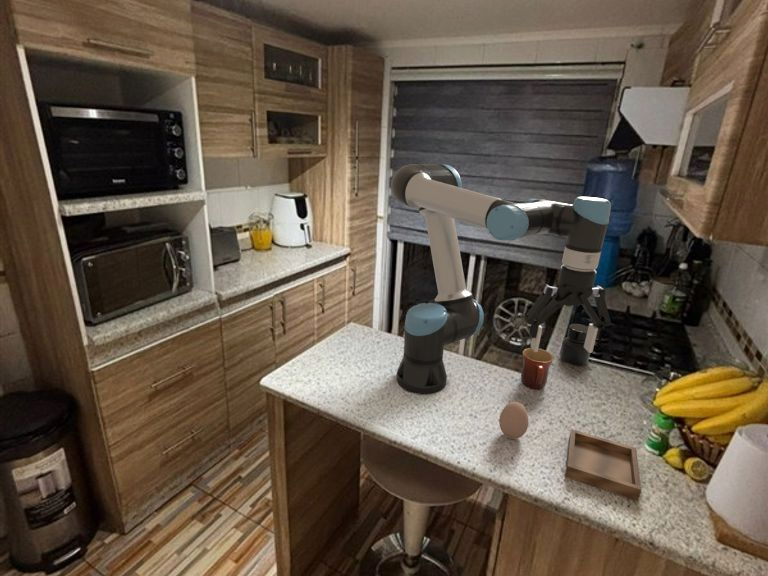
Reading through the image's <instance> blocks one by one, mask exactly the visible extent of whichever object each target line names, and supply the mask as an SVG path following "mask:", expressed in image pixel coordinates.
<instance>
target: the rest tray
mask: <svg viewBox="0 0 768 576" xmlns="http://www.w3.org/2000/svg"><path fill="white" fill-rule="evenodd" d="M637 452H638V451H637V447H634V446H632V445H627V444H623V443H620V442H618V441H613V440H609V439H606V438H603V437H599V436H597V435H592V434H589V433H587V432H582V431H579V430H577V429H573V428H571V429H570V433H569V438H568V444H567V454H566V455H567V456H566V465H565V474H564V477H565V478H567V479H570V480H573V481H576V482H578V483H582V484H584V485H587V486H591V487H594V488H596V489H600V490H602V491H603V490H604V491H606V492H609V493H612V494H614V495H617V496H621V497H623V498H627V499H629V500H633V501H637V502H639V499H640V497H641V493H642V484H641V477H640V467H639V460H638V453H637Z"/></svg>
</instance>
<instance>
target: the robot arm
mask: <svg viewBox="0 0 768 576" xmlns="http://www.w3.org/2000/svg"><path fill="white" fill-rule="evenodd" d="M462 186H463V185H462V179H461V177H460V174H459V172H458V171H457V169H455V168H454V167H452V166H451V165H449V164H444V163H424V164H423V163H417V164H416V163H410V164H406V165H405V164H404V165H403V166H401V167H400V168H398V169H397V170H396V171H395V173H394V174H393V177H392V178H391V183H390V189H391V193H392V196H393V197H394V199H395V200H396V201H397V202H398V203H399V204H402V205H404V206H405V207H410V208H412V209H415V210H416V209H418V213H419V214H420V215H422V216H423V217H424V219H425V225H426V228H427V229H426V230H427V235H428V242H429V247H430V251H431V252H430V253H431V260H432V264H433V269H434V270H433V271H434V275H435V282H436V287H437V295H436V297H435V298H434V302H428V303H426V302H422V303H418V304H416V305H413V306H411V307H410V308H409V309H408V310H407V312H406V315H405V322H404V341H403V356H402V359H401V361H400V363H399V365H398V368H397V370H396V377H395V378H396V383H397V384H398V386H399V387H400V388H402V389H403V390H405V391H407V392H409V393H411V394H412V393H413V394H418V395H431V394H432V395H433V394H437V393H440V392H441V391H442V390H444V389H445V388H446V386H447V381H448V380H447V379H448V377H447V371H446V368H445V367H446V366H445V364H444V363H445V362H444V360H443V358H444V348H445V346H448V345H451V344H453V343H457V342H458V341H461V340H465V339H466V340H467V339H468V338H471V337H472V336H474V335H476V334H477V333H479V331H480V330H481V328H482V327H483V324H484V319H485V317H484V316H485V315H484V310H483V308H482V305H481V304H479V302H478V301H477V300H476V299H474V296H473V292H471V291H469V290H468V289H467V287H466V286H467V285H466V279H465V275H464V274H465V273H464V269H463V263H462V257H461V252H460V251H461V250H460V245H459V239H458V232H457V227H456V221H455V220H457V221H461V222H463V223H466V224H470V225H472V226H474V227H477V228H480V229H484V230H486V231H487V232H488V233H489V234H490V235H491V236H492V238H494V239H495V240H498V241H515V240H517V239H522V238H528V237H534V236H537V235H544V234H548V235H553V236H556V237H557V236H558V237H561V238H566V240H565V245H564V249H563V254H562V260H561V263H562V265H561V266H560V270H559V275H558V281H557V282H558V283H557V285H556V286H550V285H549V284H547V283H546V284H544V285H543V287H542V290H541V293H540V295H539V296H538V297H537V299H536V300H535V301H534V303H533V304H532V305H531V307H530V308H529V310H528V312H527V313H526V314H524V315H525V316H523V317H524V320H525V322H526V323H527V324H528V325H530V328H529V336H530V337H531V342H530V348H532V349H533V350H534V351H535V352H538V349H540V348H539V347H540V344H541V343H540V342H541V337H542V332H543V326H542V324H543V323H544V322H545V321H547V319H549V318H550V317H551V316H552V315H553V314H555V312H556V311H558V310H559V309H562V308H563V307H564V306H566V307H572V306H574V307H580V306H582V308H583V310H584V311H585V312H586V314H587V316H588V317H589V319H590V321H591V322H592V323H589V324H588V331H587V335H586V340H585V344H584V348H585V349H586V350H587V351H588V352H589V353H590V354H591V353H593V351H594V346H595V342H596V340H598V339H599V338H600V335H601V330H604V329H605V328H606V327H607V326H608V327H609V326H611V325H612V322H611V321H612V320H611V318H610V314H609V310H608V306H607V303H606V299H605V295H606V290H605V288H603V287H601V286H600V285H596V286H594V285H595V280H596V276H597V270H596V269H598V266H599V262H600V259H601V255H602V249H603V247H604V246H603V245H604V240H605V237H606V233H607V229H608V227H609V226H608V225H609V223H610V214H611V208H612V203H611V202H610V200H608V199H606V198H601V197H591V196H576V197H575V199H574V201H573V203H564V202H559V201H554V200H546V199H544V198H529V199H527V200H526V202H521V203H518V202H513V201H509V200H505V199H503V198H499V197H495V196H491V195H487V194H484V193H481V192H476V191H473V190H471V189H470V190H469V189H466V188H463V187H462ZM555 294H556V295H555ZM591 296H593V298H594V301H595V306H596V308H597V311H598V314H597V312H596V311H595V310H594V308H593V306H592V303H590V301H589V298H590V297H591ZM550 299H551V301H550Z"/></svg>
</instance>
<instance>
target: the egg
mask: <svg viewBox="0 0 768 576" xmlns="http://www.w3.org/2000/svg"><path fill="white" fill-rule="evenodd" d="M498 421H499V422H498V423H499V428H500V430H501V432H502V433H503V435H504V436H505V437H506V438H508V439H510V440H517V439H519V438H521V437H523V436H524V435H525V434H526V433H527V430H528V427H529V423H530V422H529V415H528V412H527V410H526V407H525V406H524V405H523V404H522V403H521V402H517V401H512V402H509V403H507V404H506V405H505V406H504V407H503V409H501V412H500V415H499V419H498Z"/></svg>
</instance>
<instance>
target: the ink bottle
mask: <svg viewBox="0 0 768 576" xmlns="http://www.w3.org/2000/svg"><path fill="white" fill-rule="evenodd" d="M588 327H589V325H588V326H587V325H585V324H581V323H571V324H570V325H568V330H567V337H566V336H565V338H563V340H562V343H561V349H560V354H559V358H560V359H561V360H562V361H563V362H565V363H566V364H569V365H573V366H579V367H581V366H582V367H583V366H585V365H587V364H588V363H589V359H590V355H591V353H589V352H588V351H587V350H586V349H585V348H584V344H585V340H586V335H587V331H588Z"/></svg>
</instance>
